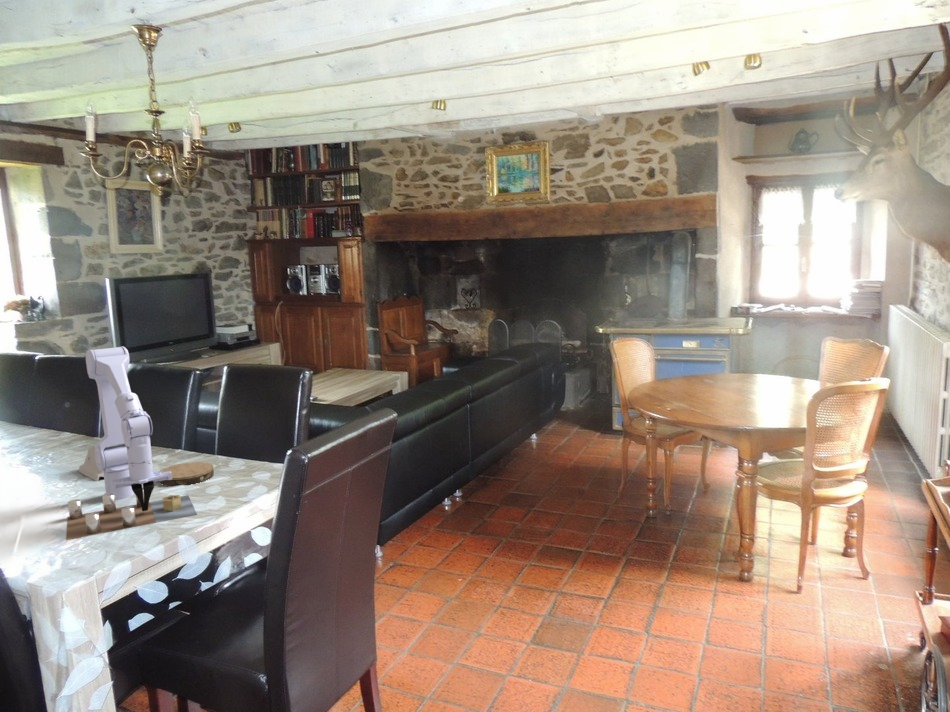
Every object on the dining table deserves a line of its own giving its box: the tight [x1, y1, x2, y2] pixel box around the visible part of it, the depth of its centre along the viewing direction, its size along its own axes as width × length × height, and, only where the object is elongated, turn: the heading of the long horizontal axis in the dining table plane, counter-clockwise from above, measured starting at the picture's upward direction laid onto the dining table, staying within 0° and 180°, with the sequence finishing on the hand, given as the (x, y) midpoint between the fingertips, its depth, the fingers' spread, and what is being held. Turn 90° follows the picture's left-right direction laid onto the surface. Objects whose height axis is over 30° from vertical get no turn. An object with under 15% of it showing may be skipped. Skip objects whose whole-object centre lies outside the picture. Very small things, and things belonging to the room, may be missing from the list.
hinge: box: [78, 445, 107, 482], centre depth 221 cm, size 17×5×10 cm, turn 48°
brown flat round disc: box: [158, 461, 215, 487], centre depth 214 cm, size 16×16×3 cm
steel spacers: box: [67, 487, 149, 535], centre depth 178 cm, size 17×19×4 cm
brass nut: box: [161, 494, 181, 512], centre depth 186 cm, size 5×4×3 cm
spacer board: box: [65, 494, 198, 541], centre depth 181 cm, size 18×30×1 cm, turn 120°
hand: (144, 509), depth 183 cm, fingers closed
